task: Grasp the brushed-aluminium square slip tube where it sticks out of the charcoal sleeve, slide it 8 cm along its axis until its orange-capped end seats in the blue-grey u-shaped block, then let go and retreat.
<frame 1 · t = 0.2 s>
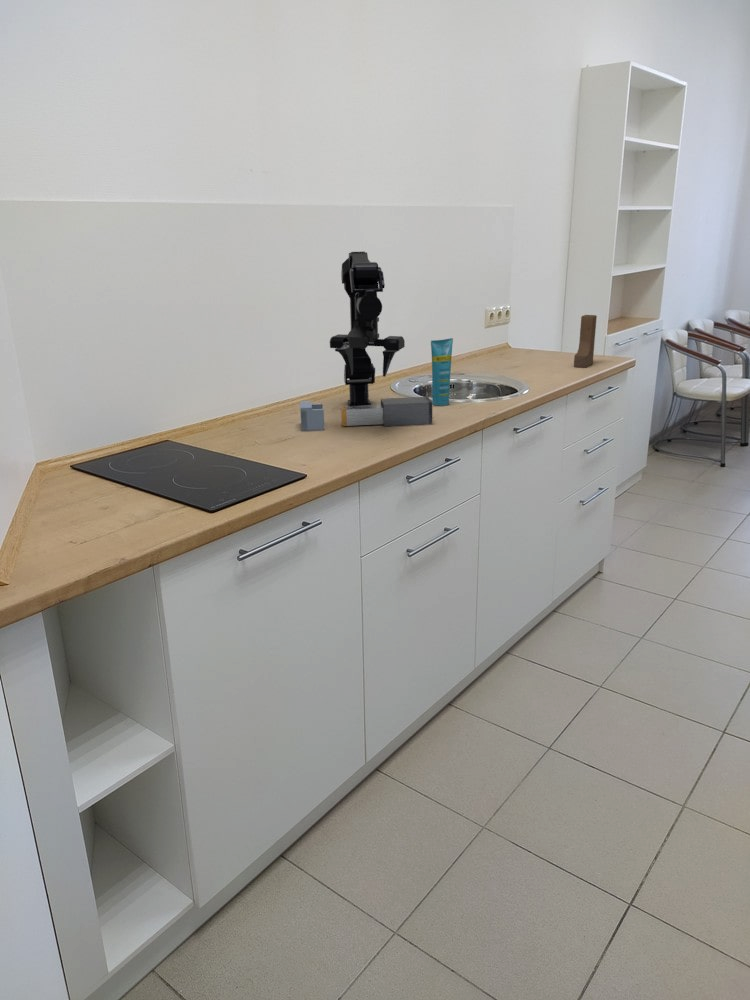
hand: (367, 375, 192), 14 cm above the countertop, fingers open, 9 cm apart
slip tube: (382, 414, 198), point 3 cm above the countertop, slide at 0.0 cm
wooden block: (583, 366, 273), on the countertop
tube: (441, 404, 219), on the countertop
sleeve: (406, 422, 200), on the countertop
blue-grey u-shaped block: (312, 426, 197), on the countertop
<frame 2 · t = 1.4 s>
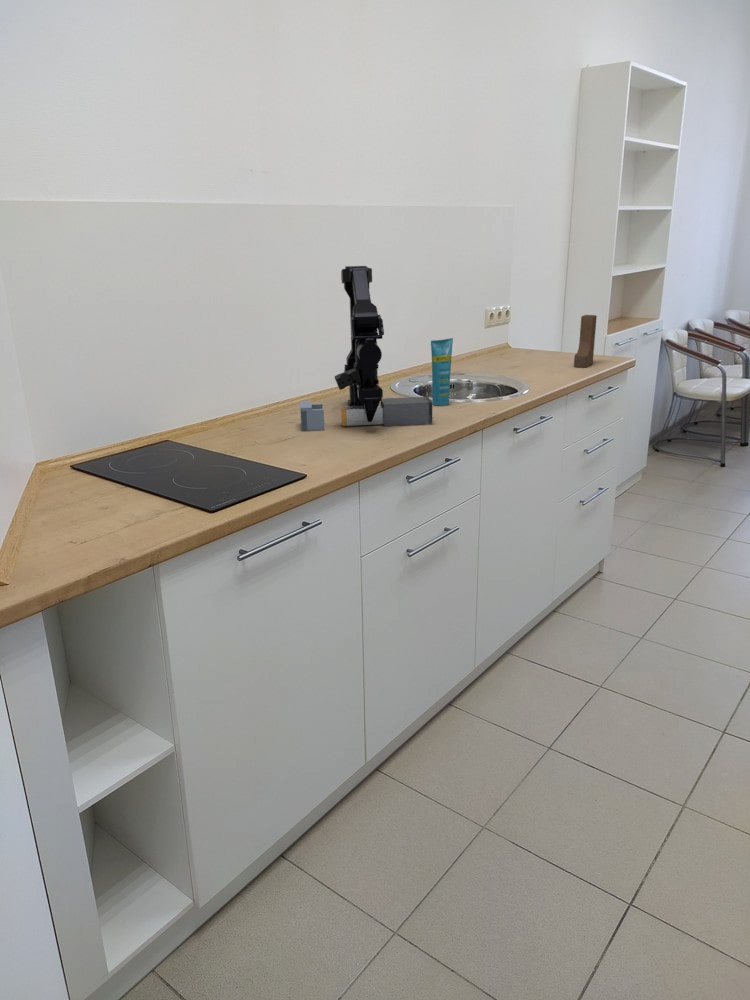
hand: (367, 417, 198), 2 cm above the countertop, fingers open, 9 cm apart
nothing on the countertop moved.
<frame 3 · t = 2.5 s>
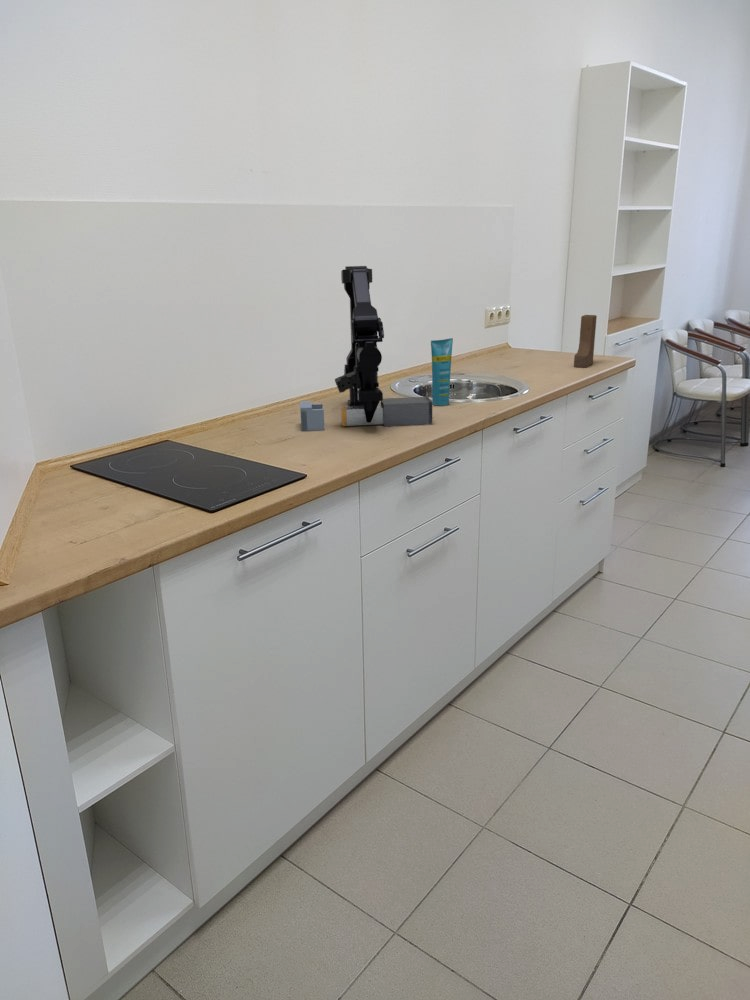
hand: (367, 420, 199), 1 cm above the countertop, fingers closed on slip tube, 4 cm apart
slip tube: (382, 414, 198), point 3 cm above the countertop, slide at 0.0 cm, touching gripper
everything else where it was.
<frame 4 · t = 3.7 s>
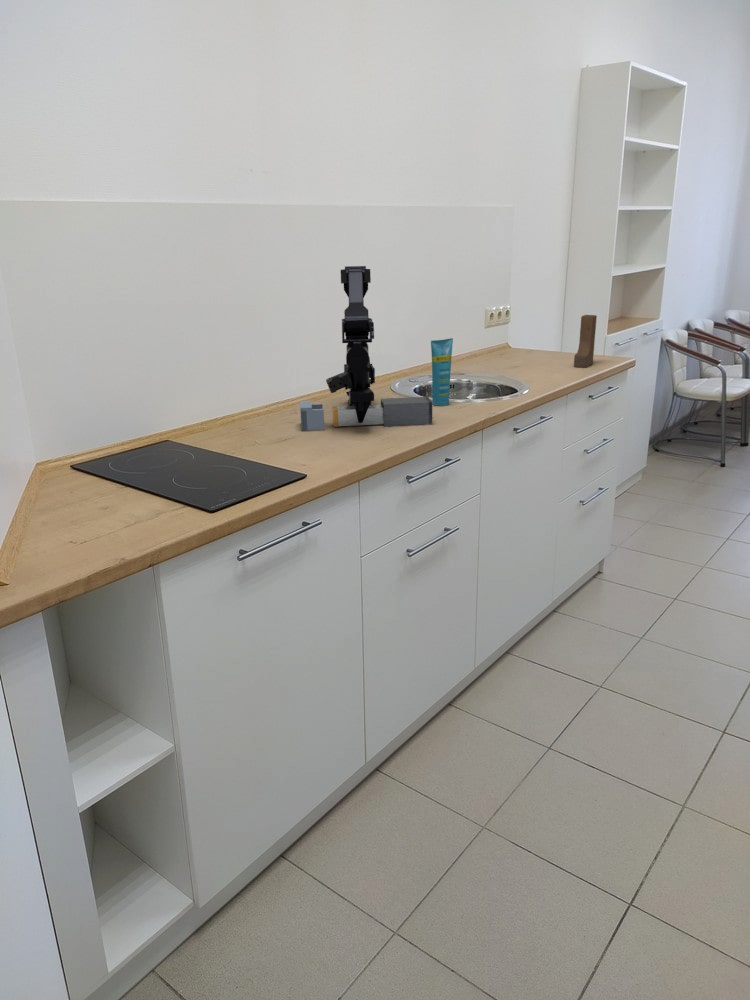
hand: (359, 420, 198), 1 cm above the countertop, fingers closed on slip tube, 4 cm apart
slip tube: (374, 414, 198), point 3 cm above the countertop, slide at 2.3 cm, touching gripper
everything else where it was.
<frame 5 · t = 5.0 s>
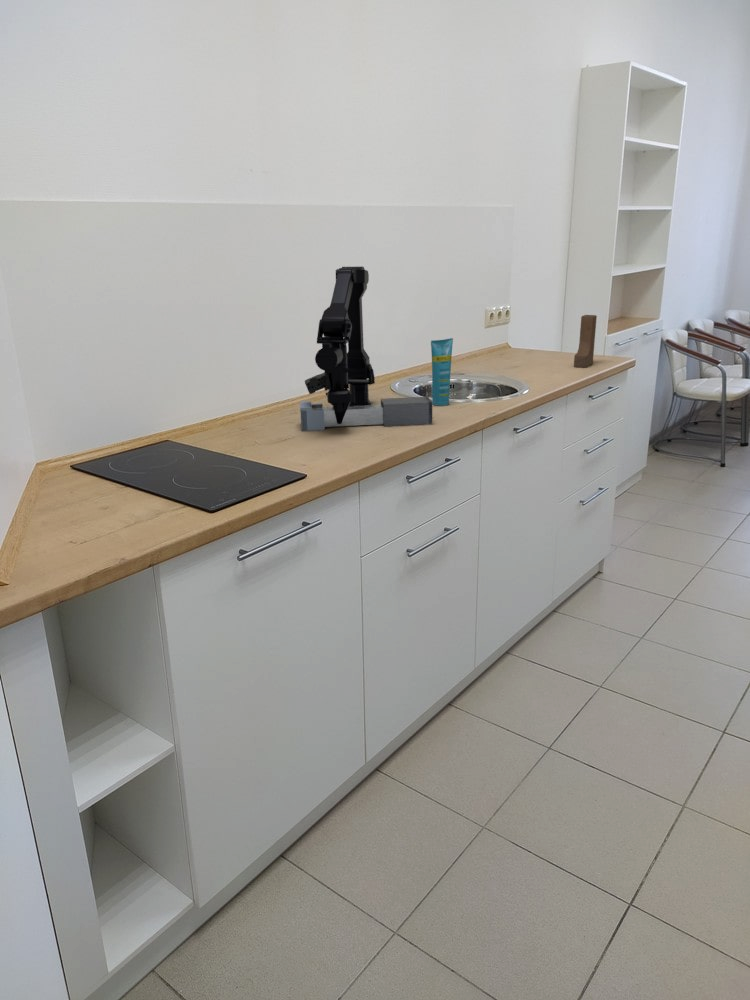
hand: (338, 421, 198), 1 cm above the countertop, fingers closed on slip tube, 4 cm apart
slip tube: (353, 415, 198), point 3 cm above the countertop, slide at 7.9 cm, touching gripper
everything else where it was.
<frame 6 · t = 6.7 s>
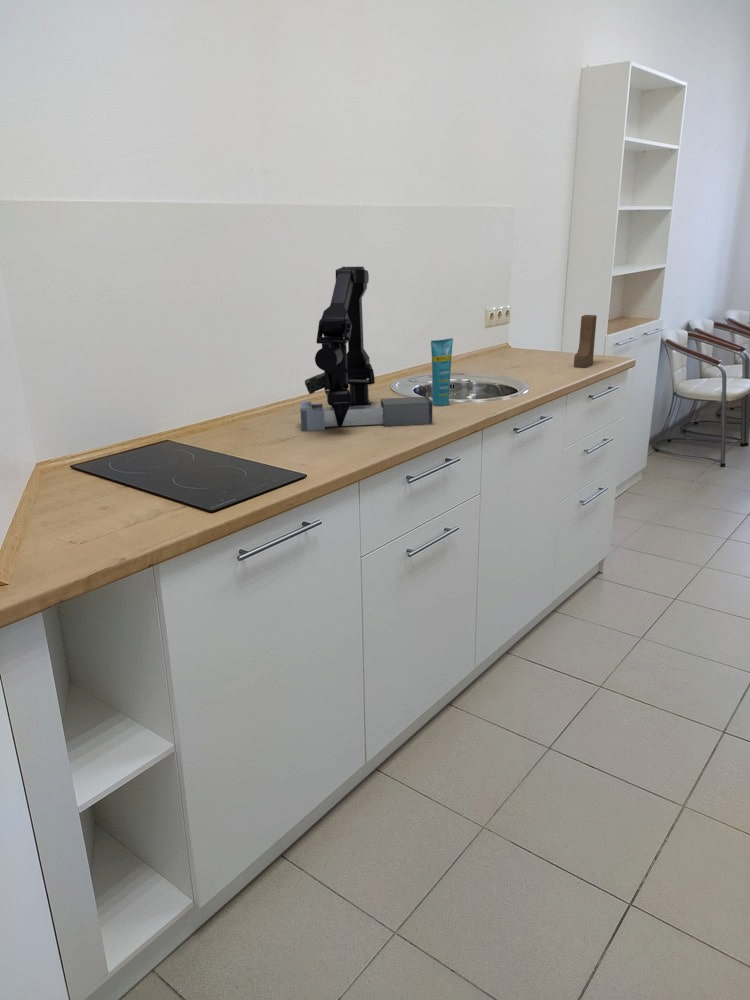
hand: (338, 421, 198), 1 cm above the countertop, fingers open, 9 cm apart
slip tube: (353, 415, 198), point 3 cm above the countertop, slide at 8.0 cm
everything else where it was.
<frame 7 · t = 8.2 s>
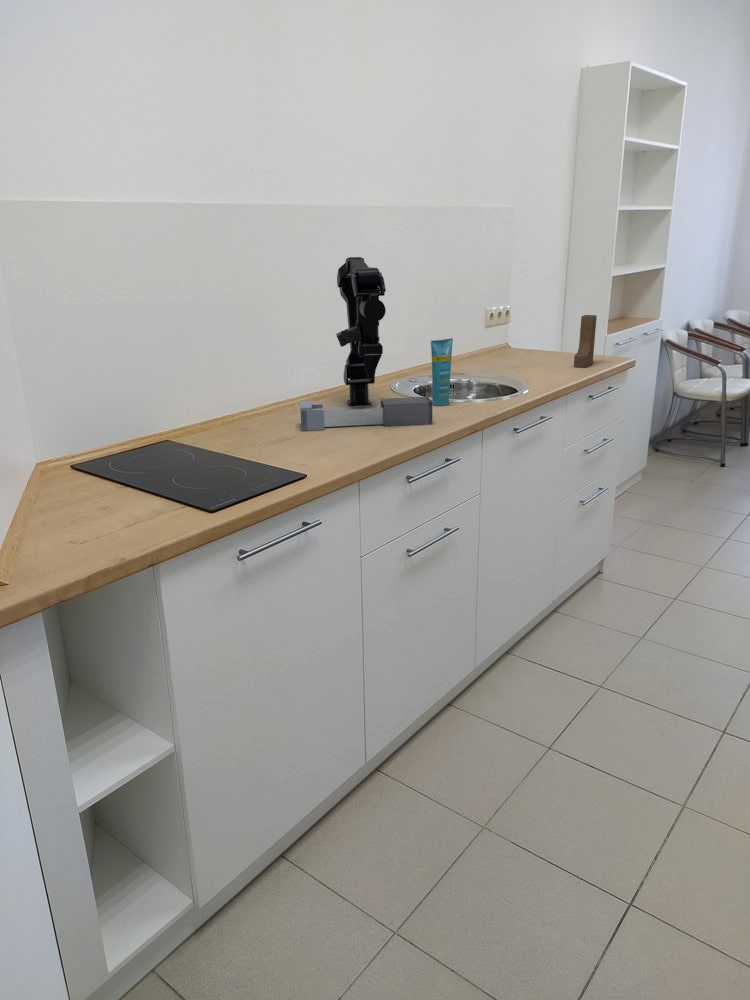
hand: (368, 375, 202), 12 cm above the countertop, fingers open, 9 cm apart
nothing on the countertop moved.
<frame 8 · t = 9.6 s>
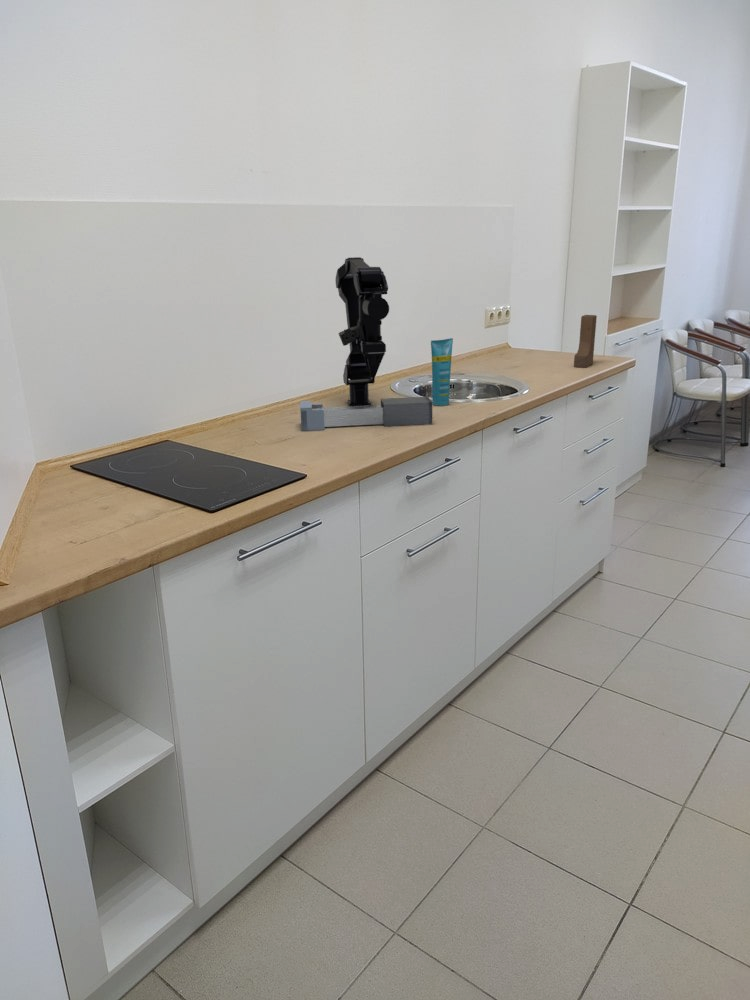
hand: (371, 374, 202), 12 cm above the countertop, fingers open, 9 cm apart
nothing on the countertop moved.
at the end: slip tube slide at 8.0 cm; the gripper is holding nothing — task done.
